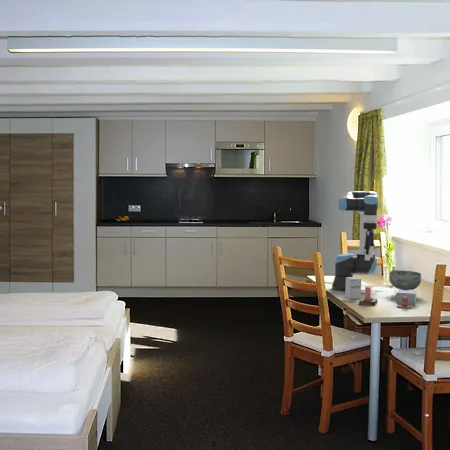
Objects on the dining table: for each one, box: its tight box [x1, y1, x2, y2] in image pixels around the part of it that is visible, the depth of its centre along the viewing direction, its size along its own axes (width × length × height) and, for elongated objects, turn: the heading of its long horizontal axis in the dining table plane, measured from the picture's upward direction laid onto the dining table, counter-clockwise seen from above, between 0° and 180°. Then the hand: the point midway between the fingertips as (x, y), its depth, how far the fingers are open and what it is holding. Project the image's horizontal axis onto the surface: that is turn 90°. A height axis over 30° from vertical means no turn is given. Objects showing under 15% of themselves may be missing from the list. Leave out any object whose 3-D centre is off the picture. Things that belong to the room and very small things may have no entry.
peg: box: [364, 286, 372, 301], centre depth 367 cm, size 3×3×10 cm
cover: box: [396, 289, 417, 307], centre depth 371 cm, size 10×10×7 cm
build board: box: [358, 296, 378, 307], centre depth 370 cm, size 11×9×2 cm
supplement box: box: [344, 276, 362, 300], centre depth 385 cm, size 7×7×13 cm
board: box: [396, 297, 414, 310], centre depth 361 cm, size 8×8×6 cm
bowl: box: [388, 269, 422, 297], centre depth 393 cm, size 20×19×15 cm
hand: (369, 258), depth 365 cm, fingers open, 13 cm apart
